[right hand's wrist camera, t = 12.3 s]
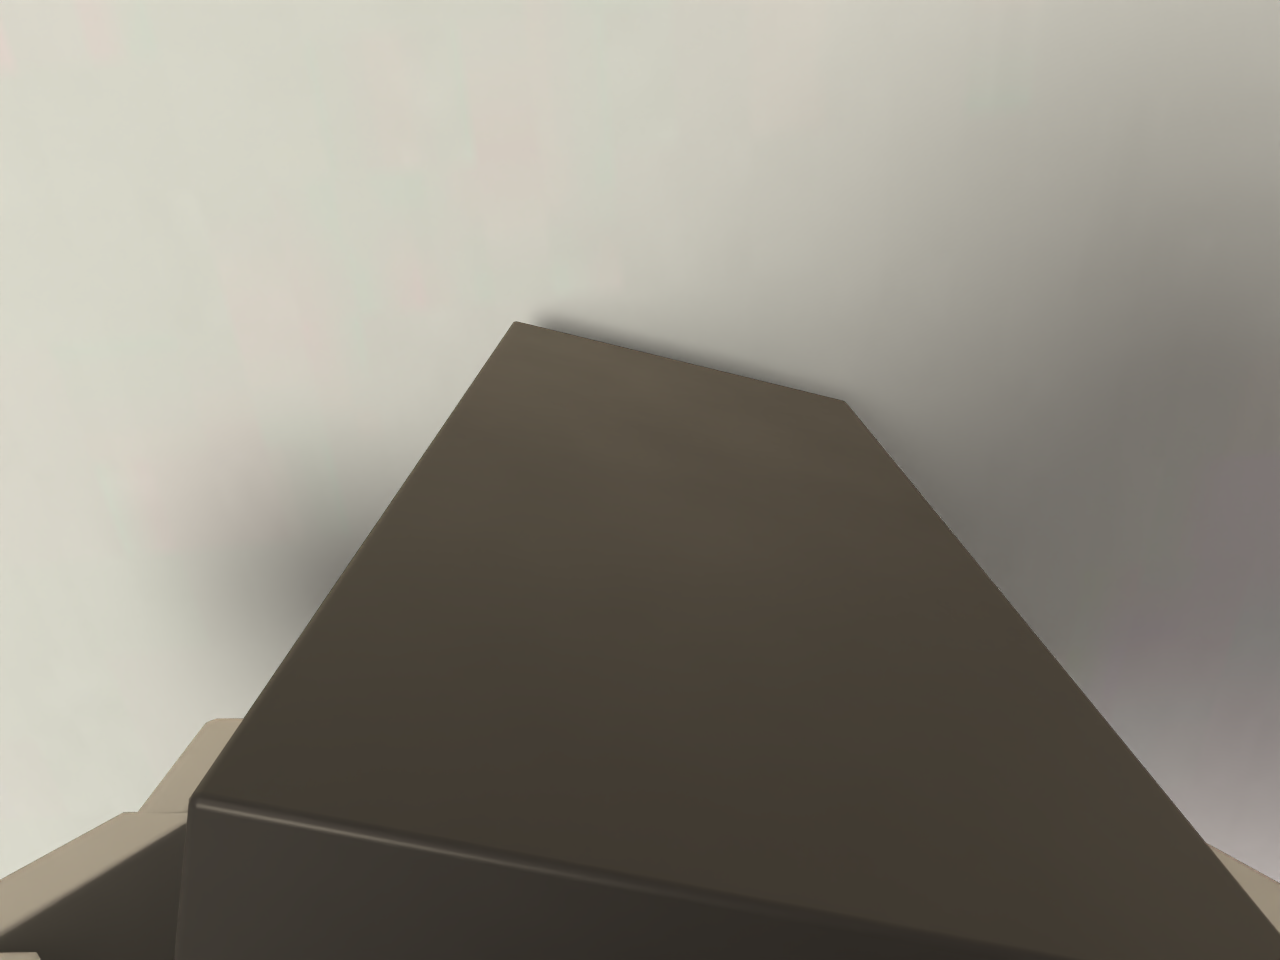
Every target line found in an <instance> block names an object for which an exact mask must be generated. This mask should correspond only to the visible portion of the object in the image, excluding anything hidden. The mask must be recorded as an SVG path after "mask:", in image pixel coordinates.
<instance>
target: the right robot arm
mask: <svg viewBox="0 0 1280 960" xmlns="http://www.w3.org/2000/svg"><path fill="white" fill-rule="evenodd" d="M243 719H244V718H224V719H214V720H212V721H209V722H207V723H206V724H205V725H204V726H203V727H202V728H201V730H200V731H199V732H198V734H197V735H196V736H195V738H194V739H193V740H192V742H191V743H190V744H189V745H188V747H187V748H186V749H185V751H184V752H183V753H182V755H181V756H180V757H179V759H178V760H177V761H176V763H175V764H174V765H173V766H172V768H171V769H170V770H169V772H168V773H167V774H166V776H165V777H164V778H163V780H162V781H161V782H160V784H159V785H158V786H157V787H156V789H155V790H154V791H153V793H152V794H151V795H150V797H149V798H148V799H147V801H146V802H145V803H144V805H143V806H142V807H141V808H140V810H139V811H138V812H123V813H121V814H120V815H118V816H116V817H114V818H112V819H110V820H109V821H107V822H105V823H103V824H101V825H100V826H98V827H96V828H94V829H92V830H90V831H89V832H87V833H85V834H83V835H81V836H79V837H78V838H76V839H74V840H72V841H70V842H68V843H67V844H65V845H63V846H61V847H59V848H57V849H56V850H54V851H52V852H50V853H48V854H46V855H45V856H43V857H41V858H39V859H37V860H35V861H34V862H32V863H30V864H28V865H26V866H25V867H23V868H21V869H19V870H17V871H15V872H14V873H12V874H10V875H8V876H6V877H4V878H3V879H1V880H0V960H174V954H175V943H176V932H177V921H178V911H179V900H180V889H181V878H182V868H183V857H184V846H185V835H186V825H187V814H188V803H189V798H190V797H191V795H192V794H193V792H194V791H195V789H196V788H197V786H198V785H199V783H200V782H201V780H202V779H203V777H204V776H205V775H206V773H207V772H208V770H209V769H210V767H211V766H212V764H213V763H214V761H215V760H216V758H217V757H218V755H219V754H220V752H221V751H222V750H223V748H224V747H225V745H226V744H227V742H228V741H229V739H230V738H231V736H232V735H233V733H234V732H235V730H236V729H237V728H238V726H239V725H240V723H241V722H242V720H243ZM1207 845H1208V846H1209V847H1210V848H1211V850H1212V851H1213V852H1214V853H1215V854H1216V856H1217V857H1218V858H1219V859H1220V861H1221V862H1222V863H1223V864H1224V865H1225V867H1226V868H1227V869H1228V870H1229V872H1230V873H1231V874H1232V875H1233V876H1234V878H1235V879H1236V880H1237V881H1238V883H1239V884H1240V885H1241V886H1242V887H1243V889H1244V890H1245V891H1246V892H1247V894H1248V895H1249V896H1250V897H1251V898H1252V900H1253V901H1254V902H1255V903H1256V905H1257V906H1258V907H1259V908H1260V910H1261V911H1262V912H1263V913H1264V914H1265V916H1266V917H1267V918H1268V919H1269V921H1270V922H1271V923H1272V924H1273V925H1274V927H1275V928H1276V929H1277V930H1278V932H1279V933H1280V883H1278V882H1276V881H1275V880H1273V879H1271V878H1269V877H1267V876H1265V875H1264V874H1262V873H1260V872H1258V871H1256V870H1255V869H1253V868H1251V867H1249V866H1247V865H1246V864H1244V863H1242V862H1240V861H1238V860H1236V859H1235V858H1233V857H1231V856H1229V855H1227V854H1226V853H1224V852H1222V851H1220V850H1218V849H1217V848H1215V847H1213V846H1211V845H1209V844H1207Z"/></svg>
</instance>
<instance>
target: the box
mask: <svg viewBox="0 0 1280 960" xmlns="http://www.w3.org/2000/svg"><path fill="white" fill-rule="evenodd" d="M174 960H1280V933H1279V932H1278V930H1277V929H1276V928H1275V927H1274V925H1273V924H1272V923H1271V922H1270V921H1269V919H1268V918H1267V917H1266V916H1265V914H1264V913H1263V912H1262V911H1261V910H1260V908H1259V907H1258V906H1257V905H1256V903H1255V902H1254V901H1253V900H1252V898H1251V897H1250V896H1249V895H1248V894H1247V892H1246V891H1245V890H1244V889H1243V887H1242V886H1241V885H1240V884H1239V883H1238V881H1237V880H1236V879H1235V878H1234V876H1233V875H1232V874H1231V873H1230V872H1229V870H1228V869H1227V868H1226V867H1225V865H1224V864H1223V863H1222V862H1221V861H1220V859H1219V858H1218V857H1217V856H1216V854H1215V853H1214V852H1213V851H1212V850H1211V848H1210V847H1209V846H1208V845H1207V843H1206V842H1205V841H1204V840H1203V839H1202V837H1201V836H1200V835H1199V834H1198V832H1197V831H1196V830H1195V829H1194V828H1193V826H1192V825H1191V824H1190V823H1189V821H1188V820H1187V819H1186V818H1185V817H1184V815H1183V814H1182V813H1181V812H1180V810H1179V809H1178V808H1177V807H1176V806H1175V804H1174V803H1173V802H1172V801H1171V799H1170V798H1169V797H1168V796H1167V795H1166V793H1165V792H1164V791H1163V790H1162V788H1161V787H1160V786H1159V785H1158V784H1157V782H1156V781H1155V780H1154V779H1153V777H1152V776H1151V775H1150V774H1149V773H1148V771H1147V770H1146V769H1145V768H1144V766H1143V765H1142V764H1141V763H1140V762H1139V760H1138V759H1137V758H1136V757H1135V755H1134V754H1133V753H1132V752H1131V751H1130V749H1129V748H1128V747H1127V746H1126V744H1125V743H1124V742H1123V741H1122V740H1121V738H1120V737H1119V736H1118V735H1117V733H1116V732H1115V731H1114V730H1113V729H1112V727H1111V726H1110V725H1109V724H1108V722H1107V721H1106V720H1105V719H1104V718H1103V716H1102V715H1101V714H1100V713H1099V711H1098V710H1097V709H1096V708H1095V707H1094V705H1093V704H1092V703H1091V702H1090V700H1089V699H1088V698H1087V697H1086V696H1085V694H1084V693H1083V692H1082V691H1081V689H1080V688H1079V687H1078V686H1077V685H1076V683H1075V682H1074V681H1073V680H1072V678H1071V677H1070V676H1069V675H1068V673H1067V672H1066V671H1065V670H1064V669H1063V667H1062V666H1061V665H1060V664H1059V662H1058V661H1057V660H1056V659H1055V658H1054V656H1053V655H1052V654H1051V653H1050V651H1049V650H1048V649H1047V648H1046V647H1045V645H1044V644H1043V643H1042V642H1041V640H1040V639H1039V638H1038V637H1037V636H1036V634H1035V633H1034V632H1033V631H1032V629H1031V628H1030V627H1029V626H1028V625H1027V623H1026V622H1025V621H1024V620H1023V618H1022V617H1021V616H1020V615H1019V614H1018V612H1017V611H1016V610H1015V609H1014V607H1013V606H1012V605H1011V604H1010V603H1009V601H1008V600H1007V599H1006V598H1005V596H1004V595H1003V594H1002V593H1001V592H1000V590H999V589H998V588H997V587H996V585H995V584H994V583H993V582H992V581H991V579H990V578H989V577H988V576H987V574H986V573H985V572H984V571H983V570H982V568H981V567H980V566H979V565H978V563H977V562H976V561H975V560H974V559H973V557H972V556H971V555H970V554H969V552H968V551H967V550H966V549H965V548H964V546H963V545H962V544H961V543H960V541H959V540H958V539H957V538H956V537H955V535H954V534H953V533H952V532H951V530H950V529H949V528H948V527H947V526H946V524H945V523H944V522H943V521H942V519H941V518H940V517H939V516H938V515H937V513H936V512H935V511H934V510H933V508H932V507H931V506H930V505H929V504H928V502H927V501H926V500H925V499H924V497H923V496H922V495H921V494H920V493H919V491H918V490H917V489H916V488H915V486H914V485H913V484H912V483H911V482H910V480H909V479H908V478H907V477H906V475H905V474H904V473H903V472H902V471H901V469H900V468H899V467H898V466H897V464H896V463H895V462H894V461H893V459H892V458H891V457H890V456H889V455H888V453H887V452H886V451H885V450H884V448H883V447H882V446H881V445H880V444H879V442H878V441H877V440H876V439H875V437H874V436H873V435H872V434H871V433H870V431H869V430H868V429H867V428H866V426H865V425H864V424H863V423H862V422H861V420H860V419H859V418H858V417H857V415H856V414H855V413H854V412H853V411H852V409H851V408H850V407H849V406H848V404H847V403H846V402H844V401H842V400H838V399H833V398H829V397H825V396H821V395H817V394H813V393H809V392H805V391H801V390H796V389H792V388H788V387H784V386H780V385H776V384H772V383H768V382H764V381H759V380H755V379H751V378H747V377H743V376H739V375H735V374H731V373H727V372H722V371H718V370H714V369H710V368H706V367H702V366H698V365H694V364H689V363H685V362H681V361H677V360H673V359H669V358H665V357H661V356H657V355H652V354H648V353H644V352H640V351H636V350H632V349H628V348H624V347H620V346H615V345H611V344H607V343H603V342H599V341H595V340H591V339H587V338H583V337H578V336H574V335H570V334H566V333H562V332H558V331H554V330H550V329H546V328H541V327H537V326H533V325H529V324H525V323H521V322H513V324H512V325H511V327H510V328H509V330H508V331H507V333H506V334H505V336H504V337H503V338H502V340H501V341H500V343H499V344H498V346H497V347H496V349H495V350H494V352H493V353H492V355H491V356H490V358H489V359H488V361H487V362H486V363H485V365H484V366H483V368H482V369H481V371H480V372H479V374H478V375H477V377H476V378H475V380H474V381H473V383H472V384H471V385H470V387H469V388H468V390H467V391H466V393H465V394H464V396H463V397H462V399H461V400H460V402H459V403H458V405H457V406H456V407H455V409H454V410H453V412H452V413H451V415H450V416H449V418H448V419H447V421H446V422H445V424H444V425H443V427H442V428H441V430H440V431H439V432H438V434H437V435H436V437H435V438H434V440H433V441H432V443H431V444H430V446H429V447H428V449H427V450H426V452H425V453H424V454H423V456H422V457H421V459H420V460H419V462H418V463H417V465H416V466H415V468H414V469H413V471H412V472H411V474H410V475H409V476H408V478H407V479H406V481H405V482H404V484H403V485H402V487H401V488H400V490H399V491H398V493H397V494H396V496H395V497H394V499H393V500H392V501H391V503H390V504H389V506H388V507H387V509H386V510H385V512H384V513H383V515H382V516H381V518H380V519H379V521H378V522H377V523H376V525H375V526H374V528H373V529H372V531H371V532H370V534H369V535H368V537H367V538H366V540H365V541H364V543H363V544H362V545H361V547H360V548H359V550H358V551H357V553H356V554H355V556H354V557H353V559H352V560H351V562H350V563H349V565H348V566H347V568H346V569H345V570H344V572H343V573H342V575H341V576H340V578H339V579H338V581H337V582H336V584H335V585H334V587H333V588H332V590H331V591H330V592H329V594H328V595H327V597H326V598H325V600H324V601H323V603H322V604H321V606H320V607H319V609H318V610H317V612H316V613H315V614H314V616H313V617H312V619H311V620H310V622H309V623H308V625H307V626H306V628H305V629H304V631H303V632H302V634H301V635H300V637H299V638H298V639H297V641H296V642H295V644H294V645H293V647H292V648H291V650H290V651H289V653H288V654H287V656H286V657H285V659H284V660H283V661H282V663H281V664H280V666H279V667H278V669H277V670H276V672H275V673H274V675H273V676H272V678H271V679H270V681H269V682H268V683H267V685H266V686H265V688H264V689H263V691H262V692H261V694H260V695H259V697H258V698H257V700H256V701H255V703H254V704H253V706H252V707H251V708H250V710H249V711H248V713H247V714H246V716H245V717H244V719H243V720H242V722H241V723H240V725H239V726H238V728H237V729H236V730H235V732H234V733H233V735H232V736H231V738H230V739H229V741H228V742H227V744H226V745H225V747H224V748H223V750H222V751H221V752H220V754H219V755H218V757H217V758H216V760H215V761H214V763H213V764H212V766H211V767H210V769H209V770H208V772H207V773H206V775H205V776H204V777H203V779H202V780H201V782H200V783H199V785H198V786H197V788H196V789H195V791H194V792H193V794H192V795H191V797H190V798H189V803H188V814H187V825H186V835H185V846H184V857H183V868H182V878H181V889H180V900H179V911H178V921H177V932H176V943H175V954H174Z"/></svg>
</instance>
